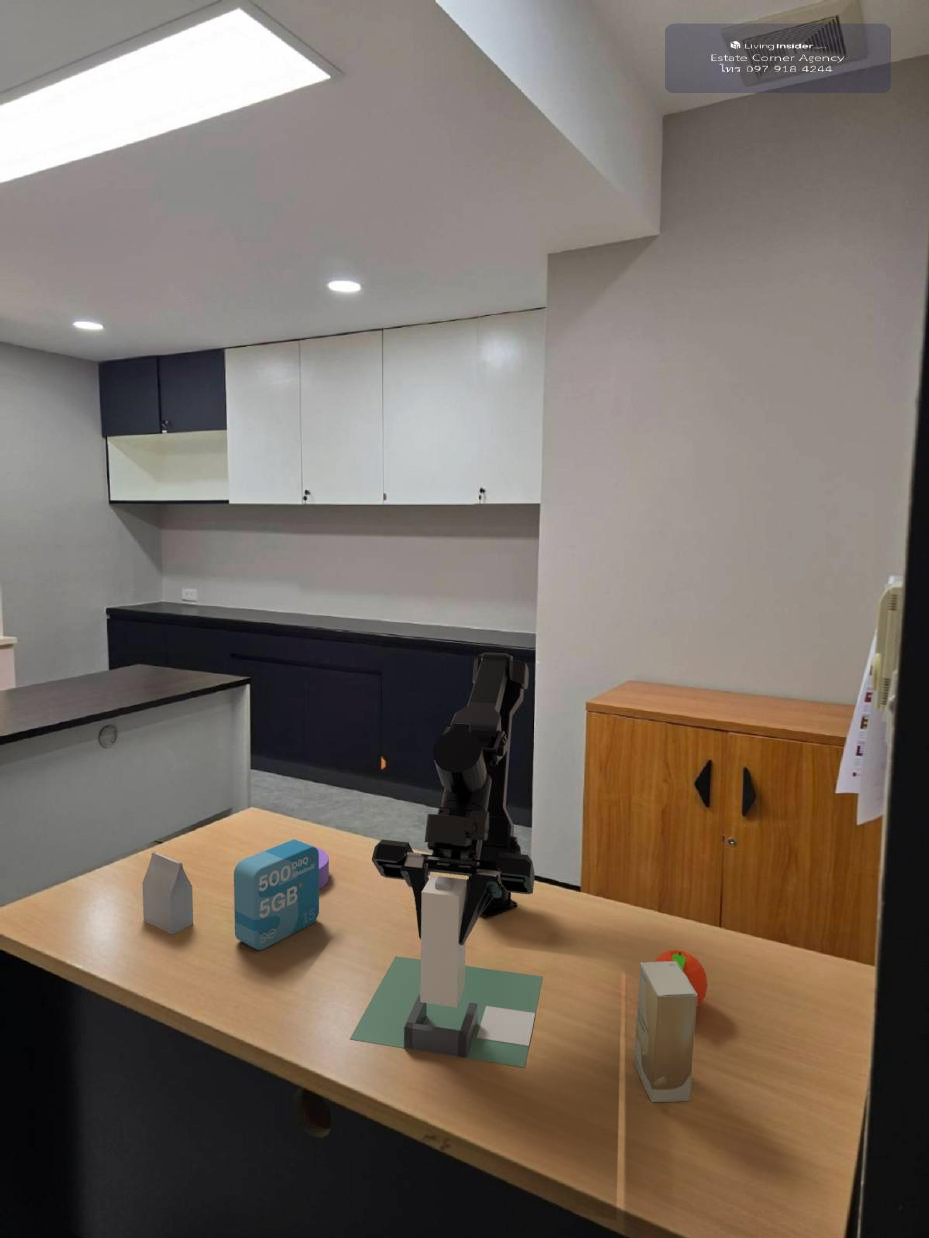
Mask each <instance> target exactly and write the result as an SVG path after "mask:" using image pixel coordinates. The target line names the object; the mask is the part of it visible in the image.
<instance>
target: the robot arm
mask: <svg viewBox="0 0 929 1238" xmlns="http://www.w3.org/2000/svg"><path fill="white" fill-rule="evenodd" d="M529 673H530V672H529V667H528V665H527V663H526V662H524V661H522V660H519V659H517V658H514V657H513V656H512V655H510V654H508V653H501V652H498V653H497V652H483V653H479V655H478V658H476V659H474V661H473V672H472V684H473V687H472V690H471V692H470V695H469V699H468V701H467V702H468V703H467V706H465V707H462V709H460V710H457V711H456V712H455V714H454V716H453V718H452V720H451V722H450V725H449V726H447V727H446V728H445V730H444V732H443V734H442V735H441V736H440V737H439V738H438V739H437V740H436V742H435V744H434V745H433V748H432V757H433V760H434V764H435V767H436V771H437V773H438V776H439V777H438V778H439V779H440V783H441V785H442V787H444V790H443V795H442V801H441V804H440V805H441V806H439V808H438V810H437V813H428V814H427V818H426V825H425V826H426V827H425V835H424V843H427V845H426V847H427V849H428V850H429V851H432V852H431V854H427V853H419V852H414V850H413V848H412V846H411V844H410V842H409V841H400V840H390V839H380V841H378V843H376V845H375V846H374V849H373V853H372V857H371V861H372V864H373V865H374V866H375V868H376V870H377V872H378V873H379V875H380V876H381V877H383V878H386V879H394V880H401V881H405V883H406V885H407V886H408V887H409V888H412V893H413V897H414V898H413V899H414V903H415V914H416V922H417V930H418V931H417V932H418V933H417V934H418V938H419V940H420V941H421V908H422V891H423V889H424V887H425V885H426V884H427V882H428V880H429V879H430V877H429V876H431V873H438V874H447V875H457V876H465V877H468V878H467V896H466V908H465V912H464V916H463V920H462V924H461V929H460V936H459V944H460V945H464V943H465V941H467V939H468V937H469V936H470V934H471V932H472V931H473V928H474V927H475V925H476V923H477V922H478V921H479V918H480V916H483V917H484V918H492V917H494V916H496V915H498V914H501V913H504V912H507V911H509V910H512V909H514V908H517V907H518V902H517V901H515V900H513V899H512V897H511V896H512V893H515V894H522V895H523V894H524V895H531V894H533V893H534V885H535V869H534V864H533V860H532V858H531V857H530V856H529V855H528V854H522V849H521V846H520V844H519V841H518V837H517V836H516V835H514V834H515V824H514V823H513V821H512V819H511V816H510V814H509V812H508V810H507V808H506V807H507V805H506V804H507V803H506V802H507V794H508V793H507V790H508V778H509V764H510V751H511V750H510V748H511V738H512V726H513V725H512V724H513V723H512V722H513V715H515V712H517V710H518V709H519V707H520V706H521V704H522V703H523V701H524V692H525V690H528V687H529Z"/></svg>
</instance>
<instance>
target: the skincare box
mask: <svg viewBox="0 0 929 1238" xmlns="http://www.w3.org/2000/svg"><path fill="white" fill-rule="evenodd" d="M638 979H639V980H638V982H639V983H638V995H637V997H638V998H637V1010H636V1026H635V1028H636V1030H635V1043H634V1058H633V1061H634V1067H635V1068H636V1072H637V1073H638V1076H639V1078H640V1080H641V1083H642V1085H643V1088H644V1089H645V1091H646V1094H647V1096H648V1098H649V1100H650V1102H651V1103H666V1102H668V1103H669V1102H670V1103H671V1102H672V1103H673V1102H689V1101H690V1099H691V1090H692V1089H691V1088H692V1087H691V1086H692V1072H693V1061H694V1049H695V1048H694V1047H695V1046H694V1045H695V1035H696V1034H695V1032H696V1019H697V1007H698V1006H697V993H696V992H695V990H694V988H693V987H692V985H691V983H690V982H689V980H688V978H687V976H686V975H685V974H684V972H683V970H682V969H681V967H680V966H679V964H678V962H677V961H661V962H654V961H641V962H640V963H639V978H638Z"/></svg>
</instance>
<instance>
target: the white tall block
mask: <svg viewBox="0 0 929 1238" xmlns="http://www.w3.org/2000/svg"><path fill="white" fill-rule="evenodd" d="M467 879H468V878H467ZM467 879H465V878H457V877H450V876H449V877H448V876H439V875H431V874H430V877H429V880H428V882H427V884H426V885H425V887H424V889H423V891H422V908H421V940H420V960H421V993H420V1002H424V1003H430V1004H437V1005H444V1006H450V1007H457V1006H458V1003H459V1000H460V997H461V995H462V992H463V989H464V986H465V966H466V948H467V947H466V945H467V944H466V943H467V942H466V941H467V940H466V941H465V943H464V945H460V944H459V936H460V929H461V924H462V920H463V916H464V912H465V908H466V896H467Z"/></svg>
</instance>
